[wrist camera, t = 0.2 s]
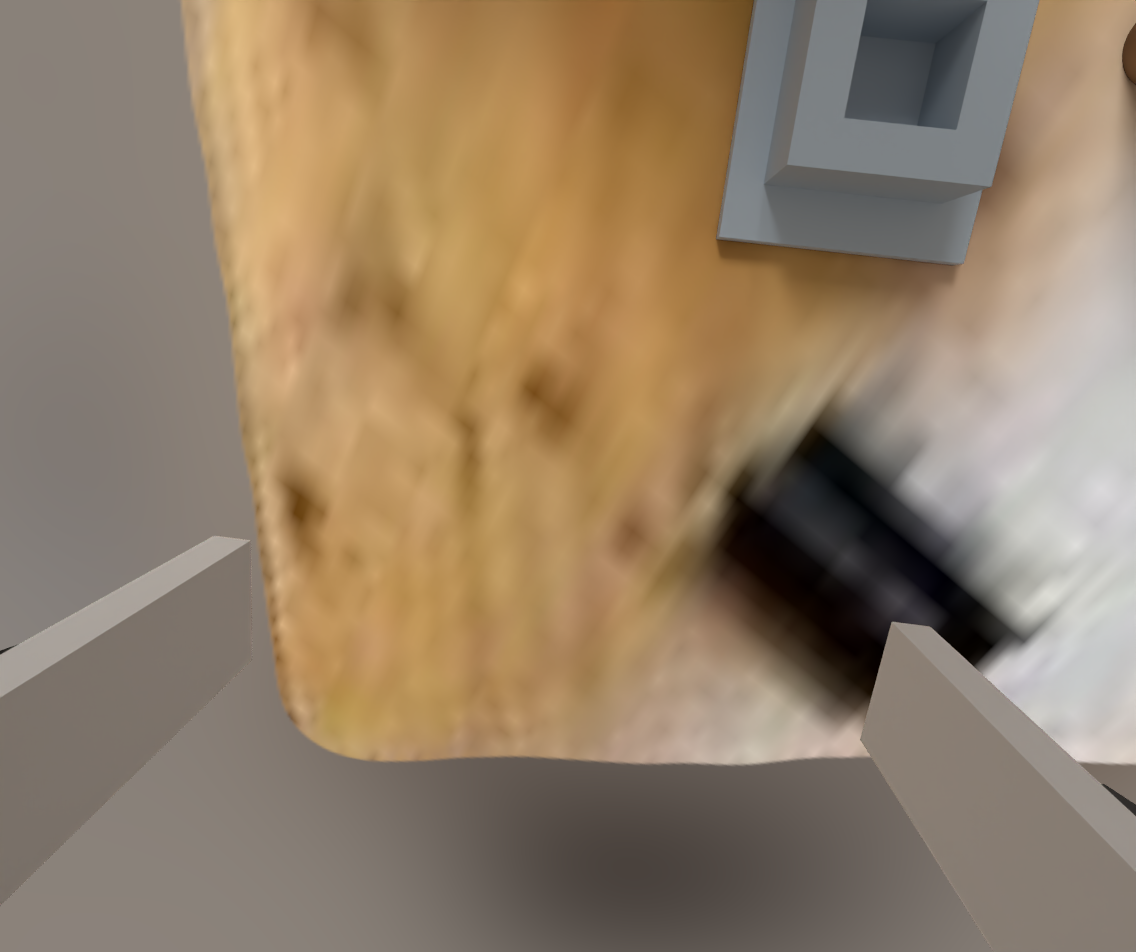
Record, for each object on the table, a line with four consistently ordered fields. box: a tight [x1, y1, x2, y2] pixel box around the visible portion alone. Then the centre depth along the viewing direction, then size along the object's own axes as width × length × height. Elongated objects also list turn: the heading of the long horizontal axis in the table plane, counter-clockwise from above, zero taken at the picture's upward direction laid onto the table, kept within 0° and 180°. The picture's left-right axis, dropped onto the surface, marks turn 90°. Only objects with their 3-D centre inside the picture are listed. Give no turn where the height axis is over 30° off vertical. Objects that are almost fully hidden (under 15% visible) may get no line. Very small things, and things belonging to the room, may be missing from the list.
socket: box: [716, 0, 1039, 265], centre depth 32 cm, size 16×14×6 cm
